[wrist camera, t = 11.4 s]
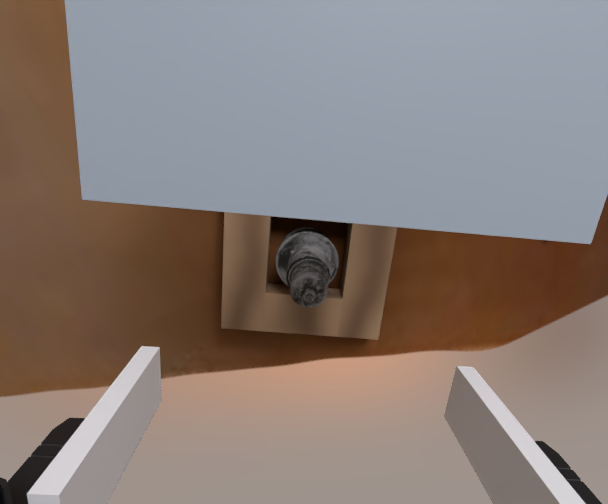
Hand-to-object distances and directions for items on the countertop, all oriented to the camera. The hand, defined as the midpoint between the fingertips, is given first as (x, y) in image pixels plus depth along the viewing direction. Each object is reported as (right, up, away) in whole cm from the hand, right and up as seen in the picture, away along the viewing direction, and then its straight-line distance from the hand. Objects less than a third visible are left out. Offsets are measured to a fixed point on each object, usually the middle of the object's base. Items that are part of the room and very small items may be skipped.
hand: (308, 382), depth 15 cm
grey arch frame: (+1, +17, +17) cm, 24 cm away
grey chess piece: (0, +6, +20) cm, 21 cm away
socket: (0, +8, +19) cm, 21 cm away
